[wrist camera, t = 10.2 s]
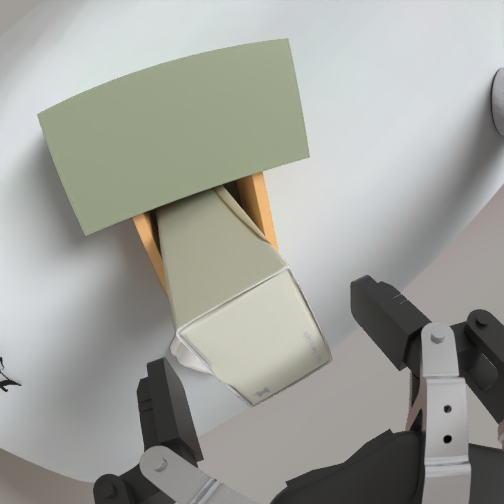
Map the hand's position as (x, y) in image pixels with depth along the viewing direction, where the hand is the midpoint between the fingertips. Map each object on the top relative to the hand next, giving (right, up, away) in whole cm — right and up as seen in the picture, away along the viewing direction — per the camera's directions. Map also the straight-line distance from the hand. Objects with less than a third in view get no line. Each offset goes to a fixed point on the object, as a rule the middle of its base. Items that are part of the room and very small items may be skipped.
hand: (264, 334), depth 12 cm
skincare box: (-4, +5, +9) cm, 11 cm away
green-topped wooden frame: (-4, +8, +7) cm, 11 cm away
